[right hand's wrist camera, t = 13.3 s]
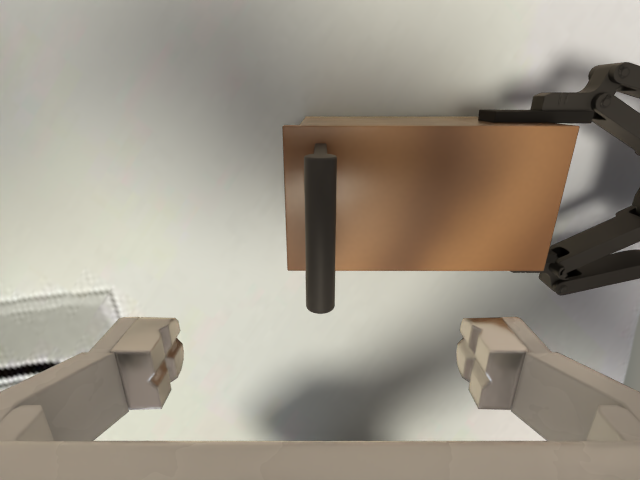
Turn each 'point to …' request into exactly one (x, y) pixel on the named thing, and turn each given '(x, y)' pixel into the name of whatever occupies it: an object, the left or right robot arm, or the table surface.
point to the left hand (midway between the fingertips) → (474, 188)
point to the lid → (420, 198)
